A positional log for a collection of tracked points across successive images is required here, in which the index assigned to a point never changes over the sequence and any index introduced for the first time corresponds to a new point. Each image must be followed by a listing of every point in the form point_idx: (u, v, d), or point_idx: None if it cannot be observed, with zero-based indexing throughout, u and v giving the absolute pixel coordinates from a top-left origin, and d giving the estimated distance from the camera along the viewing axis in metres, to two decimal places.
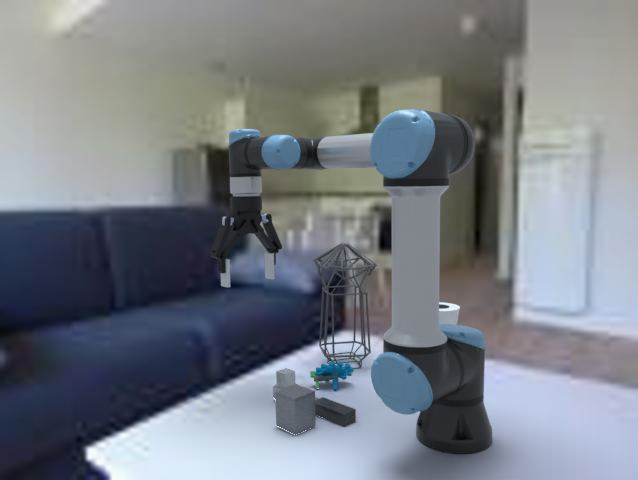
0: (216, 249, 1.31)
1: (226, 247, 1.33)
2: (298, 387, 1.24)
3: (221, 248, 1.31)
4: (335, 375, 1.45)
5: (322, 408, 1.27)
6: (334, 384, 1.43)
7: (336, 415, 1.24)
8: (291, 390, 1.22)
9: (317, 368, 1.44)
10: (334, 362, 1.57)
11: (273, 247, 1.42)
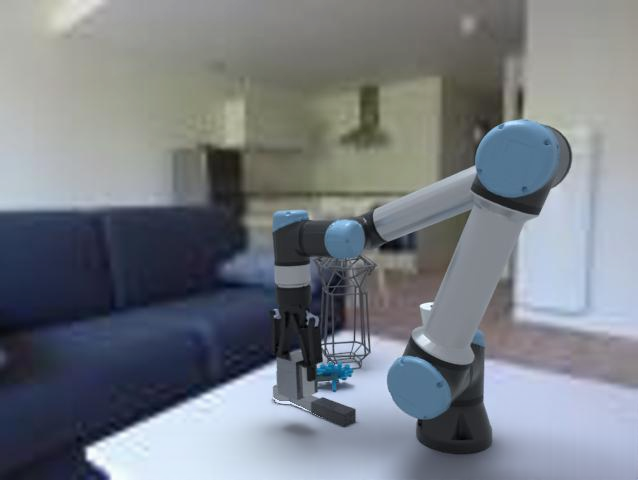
0: None
1: None
2: (299, 353, 1.23)
3: (274, 344, 1.23)
4: (334, 376, 1.44)
5: (322, 408, 1.27)
6: (333, 385, 1.43)
7: (336, 415, 1.24)
8: (292, 355, 1.21)
9: None
10: (334, 362, 1.57)
11: (305, 359, 1.17)
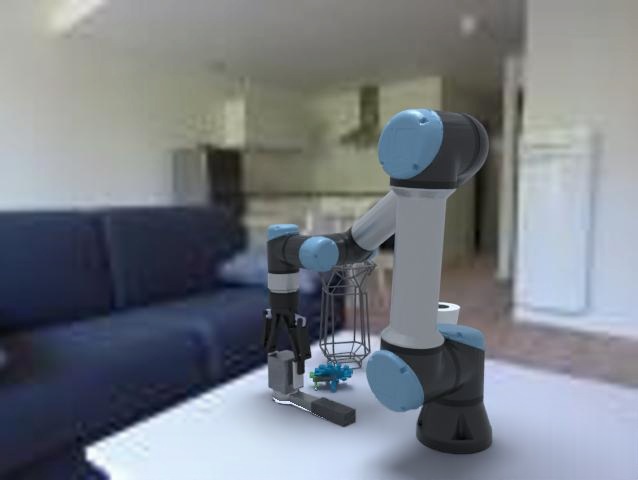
0: None
1: None
2: (288, 352, 1.39)
3: (263, 340, 1.40)
4: (334, 376, 1.44)
5: (322, 408, 1.27)
6: (332, 385, 1.43)
7: (336, 415, 1.24)
8: (282, 354, 1.37)
9: (315, 369, 1.44)
10: (334, 362, 1.57)
11: (296, 355, 1.32)
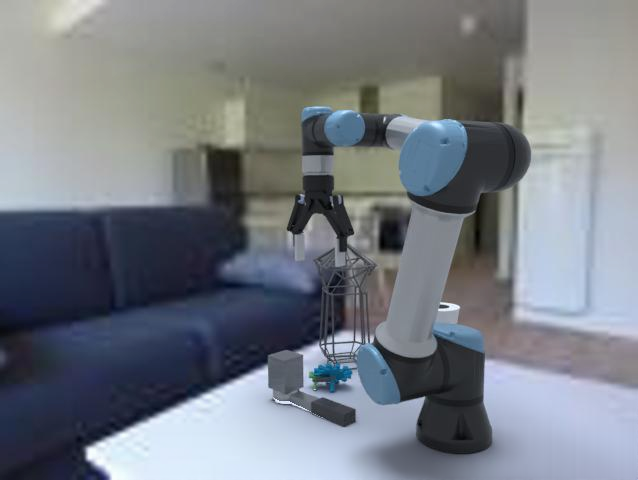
0: None
1: None
2: (288, 352, 1.39)
3: (291, 223, 1.41)
4: (333, 377, 1.43)
5: (322, 408, 1.27)
6: (331, 386, 1.42)
7: (336, 415, 1.24)
8: (282, 354, 1.37)
9: (314, 369, 1.44)
10: (334, 362, 1.57)
11: (337, 232, 1.30)
